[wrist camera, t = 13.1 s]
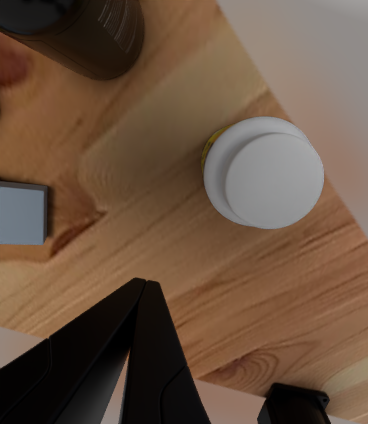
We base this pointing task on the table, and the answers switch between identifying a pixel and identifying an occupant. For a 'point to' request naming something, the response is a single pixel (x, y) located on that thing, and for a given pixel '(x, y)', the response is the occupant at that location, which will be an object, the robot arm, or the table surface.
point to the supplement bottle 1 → (78, 32)
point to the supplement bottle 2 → (262, 172)
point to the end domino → (23, 213)
